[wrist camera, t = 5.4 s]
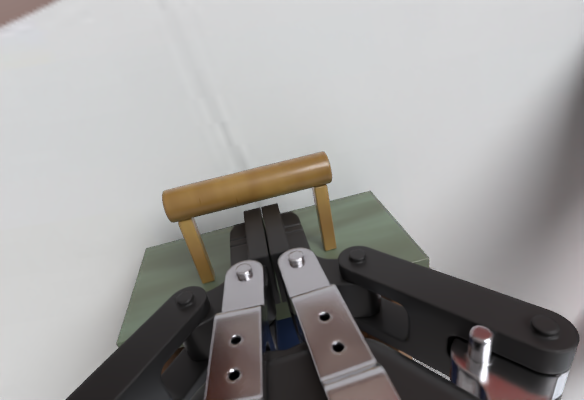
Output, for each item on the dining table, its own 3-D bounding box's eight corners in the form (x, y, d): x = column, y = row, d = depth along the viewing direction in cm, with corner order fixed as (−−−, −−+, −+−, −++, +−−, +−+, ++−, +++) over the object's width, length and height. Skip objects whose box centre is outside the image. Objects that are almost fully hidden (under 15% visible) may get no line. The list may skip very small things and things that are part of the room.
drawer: (109, 171, 18) (55, 248, 12) (363, 110, 19) (429, 153, 13) (217, 398, 28) (217, 505, 22) (385, 349, 29) (429, 439, 22)
